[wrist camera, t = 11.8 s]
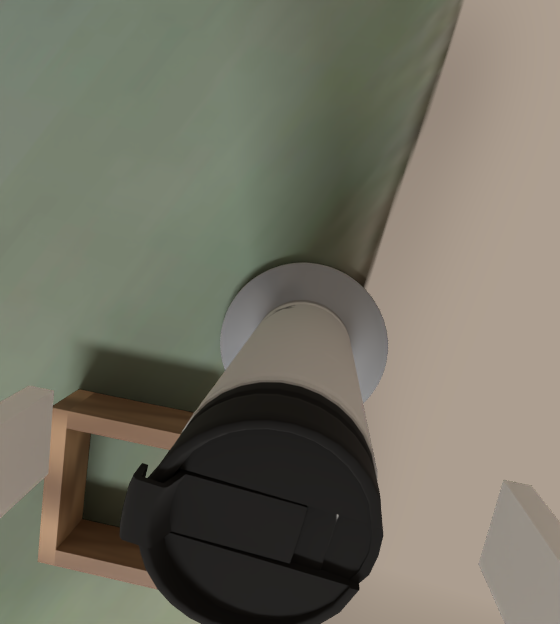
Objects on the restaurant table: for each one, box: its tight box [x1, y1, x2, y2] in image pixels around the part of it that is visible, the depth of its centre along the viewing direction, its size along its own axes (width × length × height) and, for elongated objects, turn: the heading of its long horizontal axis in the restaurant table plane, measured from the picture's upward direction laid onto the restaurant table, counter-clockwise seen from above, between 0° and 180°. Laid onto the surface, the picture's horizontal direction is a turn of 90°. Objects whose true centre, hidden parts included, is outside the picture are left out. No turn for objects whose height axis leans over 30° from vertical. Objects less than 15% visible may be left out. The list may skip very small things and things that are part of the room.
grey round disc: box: [220, 262, 388, 403], centre depth 31 cm, size 11×11×1 cm
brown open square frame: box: [38, 389, 194, 589], centre depth 32 cm, size 11×10×4 cm
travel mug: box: [120, 300, 383, 624], centre depth 21 cm, size 6×7×20 cm
